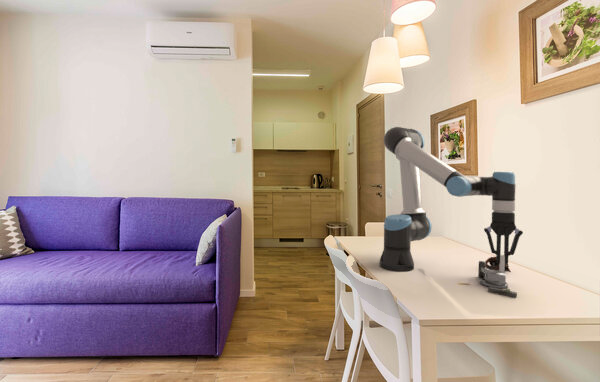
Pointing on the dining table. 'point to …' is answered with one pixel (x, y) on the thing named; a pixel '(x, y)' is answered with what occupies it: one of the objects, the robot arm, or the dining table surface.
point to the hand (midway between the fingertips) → (501, 271)
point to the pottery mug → (494, 264)
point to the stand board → (498, 291)
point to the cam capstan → (491, 277)
